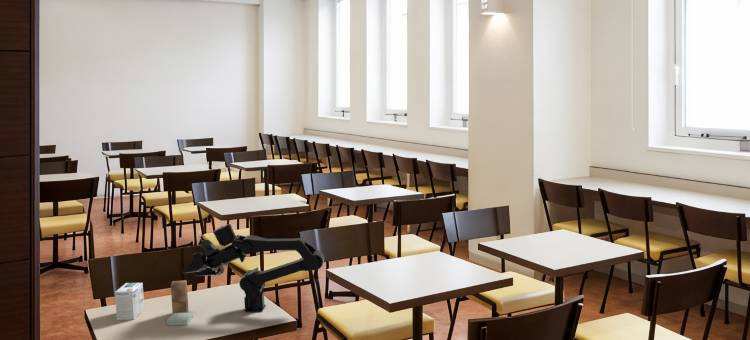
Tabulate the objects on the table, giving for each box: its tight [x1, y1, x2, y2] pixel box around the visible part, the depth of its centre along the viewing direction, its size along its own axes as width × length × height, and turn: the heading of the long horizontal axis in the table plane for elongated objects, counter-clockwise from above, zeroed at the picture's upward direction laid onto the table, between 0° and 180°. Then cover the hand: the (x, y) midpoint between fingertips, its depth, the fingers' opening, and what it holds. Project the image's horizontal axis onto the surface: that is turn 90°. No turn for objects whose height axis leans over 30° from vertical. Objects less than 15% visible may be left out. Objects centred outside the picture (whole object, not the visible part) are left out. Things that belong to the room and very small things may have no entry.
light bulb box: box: [114, 282, 145, 321], centre depth 253 cm, size 11×7×11 cm, turn 178°
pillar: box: [170, 279, 190, 314], centre depth 252 cm, size 5×5×12 cm
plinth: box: [166, 312, 194, 326], centre depth 245 cm, size 7×7×2 cm
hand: (188, 273), depth 255 cm, fingers open, 9 cm apart
